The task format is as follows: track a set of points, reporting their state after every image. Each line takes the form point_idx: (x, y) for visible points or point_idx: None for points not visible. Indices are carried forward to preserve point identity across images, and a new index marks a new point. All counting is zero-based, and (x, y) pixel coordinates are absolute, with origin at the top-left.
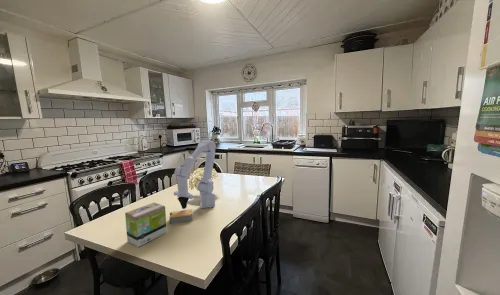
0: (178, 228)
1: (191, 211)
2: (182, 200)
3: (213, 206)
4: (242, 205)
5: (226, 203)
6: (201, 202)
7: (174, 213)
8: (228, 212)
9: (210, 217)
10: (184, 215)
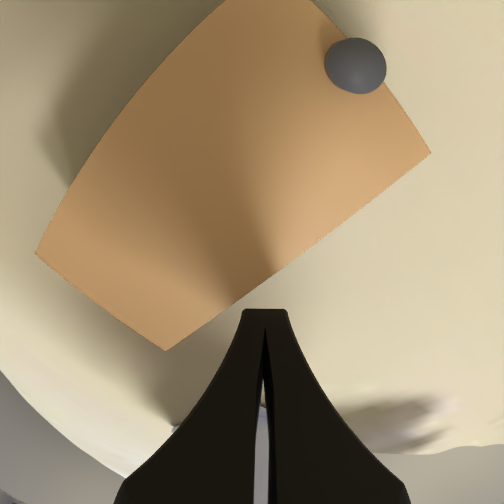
0: (63, 4)
1: (105, 305)
2: (153, 484)
3: (177, 427)
4: (76, 438)
5: (155, 451)
6: (257, 446)
7: (307, 122)
8: (41, 386)
9: (37, 316)
10: (79, 174)
